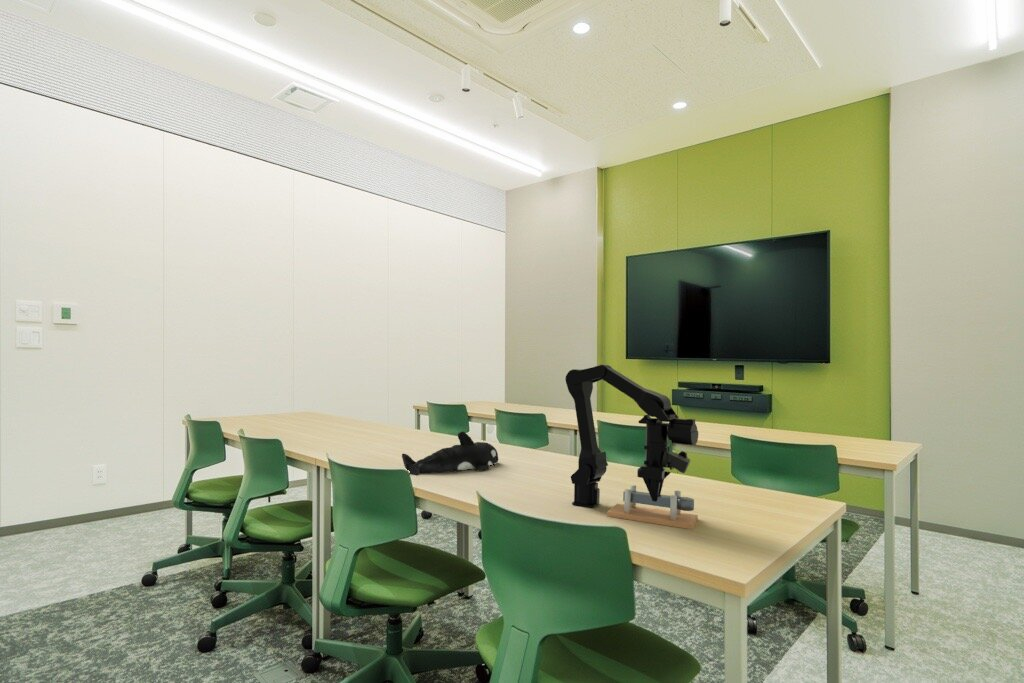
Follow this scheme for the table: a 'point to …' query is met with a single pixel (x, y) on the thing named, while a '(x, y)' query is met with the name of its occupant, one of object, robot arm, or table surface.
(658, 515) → the peg rack
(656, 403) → the robot arm
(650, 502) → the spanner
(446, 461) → the orca plush
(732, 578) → the table surface
